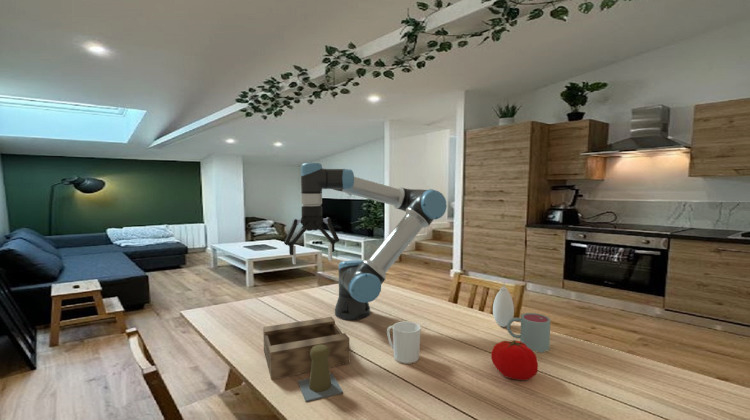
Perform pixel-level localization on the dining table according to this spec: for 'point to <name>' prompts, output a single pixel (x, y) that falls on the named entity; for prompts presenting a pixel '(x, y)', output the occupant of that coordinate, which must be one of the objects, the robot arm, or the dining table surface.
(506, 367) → the tomato
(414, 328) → the mug
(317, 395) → the grey pad
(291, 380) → the dining table surface
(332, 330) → the walnut box
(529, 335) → the mug
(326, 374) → the cork
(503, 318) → the sauce bottle
